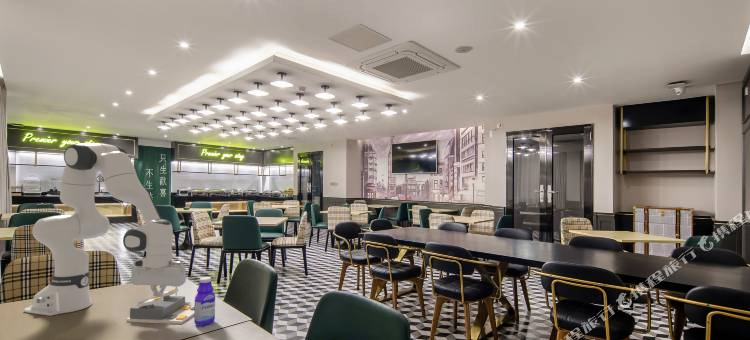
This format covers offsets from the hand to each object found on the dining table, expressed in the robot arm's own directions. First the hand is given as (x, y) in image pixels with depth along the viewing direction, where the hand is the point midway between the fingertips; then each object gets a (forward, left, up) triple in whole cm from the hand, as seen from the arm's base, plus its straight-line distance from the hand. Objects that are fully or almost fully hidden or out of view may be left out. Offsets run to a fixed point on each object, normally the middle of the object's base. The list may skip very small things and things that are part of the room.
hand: (158, 296), depth 141 cm
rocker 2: (-3, +10, -3) cm, 11 cm away
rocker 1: (-3, 0, -3) cm, 4 cm away
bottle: (+20, -1, -9) cm, 22 cm away
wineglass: (-6, +23, -9) cm, 25 cm away
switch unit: (+1, +5, -9) cm, 10 cm away
